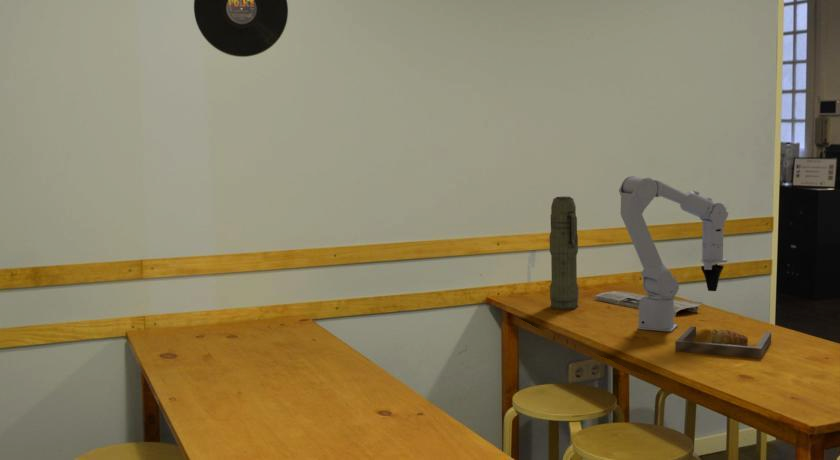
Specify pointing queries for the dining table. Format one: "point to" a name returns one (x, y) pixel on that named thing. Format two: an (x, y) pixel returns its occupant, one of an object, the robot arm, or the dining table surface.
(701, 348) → the grey u-shaped frame
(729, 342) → the pastry
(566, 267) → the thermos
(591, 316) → the dining table surface
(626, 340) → the dining table surface
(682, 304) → the newspaper
